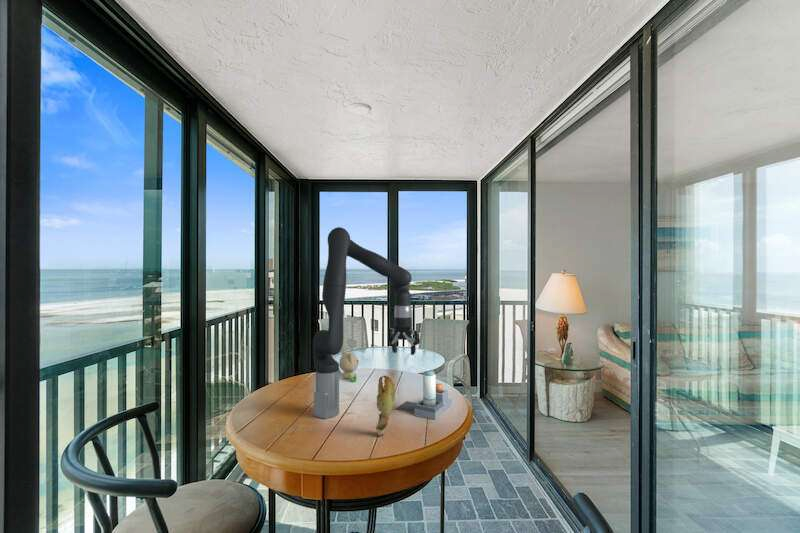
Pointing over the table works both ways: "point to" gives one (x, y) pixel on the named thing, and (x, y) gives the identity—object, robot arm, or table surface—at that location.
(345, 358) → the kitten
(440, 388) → the plunger
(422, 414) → the housing
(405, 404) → the pad
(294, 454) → the table surface
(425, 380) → the cartridge
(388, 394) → the crab claw
